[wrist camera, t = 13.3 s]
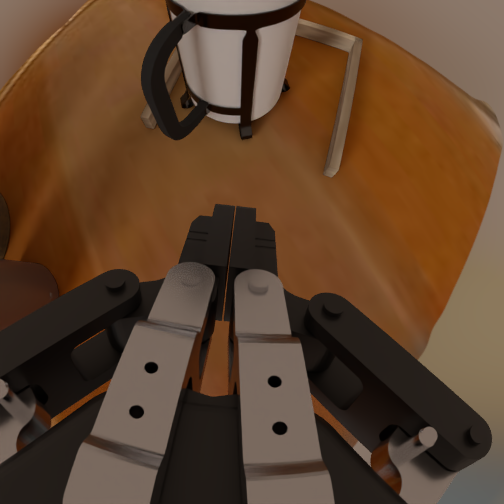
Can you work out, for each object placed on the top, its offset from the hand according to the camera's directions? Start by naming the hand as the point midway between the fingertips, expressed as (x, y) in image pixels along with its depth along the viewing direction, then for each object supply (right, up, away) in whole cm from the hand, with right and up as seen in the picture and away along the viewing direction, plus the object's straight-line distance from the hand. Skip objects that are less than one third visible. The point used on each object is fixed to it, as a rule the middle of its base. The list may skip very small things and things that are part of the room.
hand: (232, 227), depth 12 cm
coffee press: (-2, +19, +27) cm, 34 cm away
